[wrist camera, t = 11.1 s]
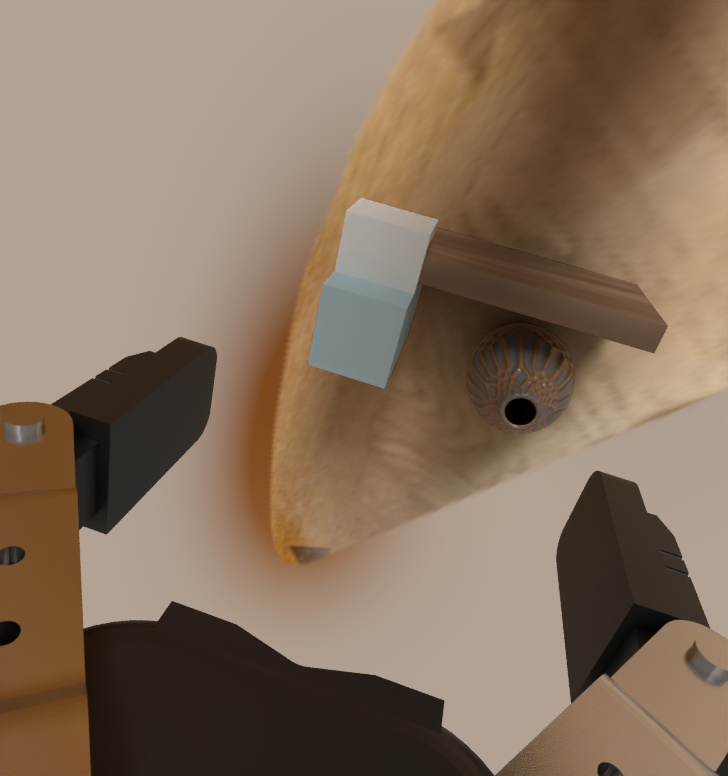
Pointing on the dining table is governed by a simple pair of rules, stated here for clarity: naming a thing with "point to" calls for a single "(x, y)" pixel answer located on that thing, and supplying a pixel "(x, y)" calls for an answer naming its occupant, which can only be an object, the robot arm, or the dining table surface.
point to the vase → (520, 378)
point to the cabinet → (371, 292)
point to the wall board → (542, 289)
